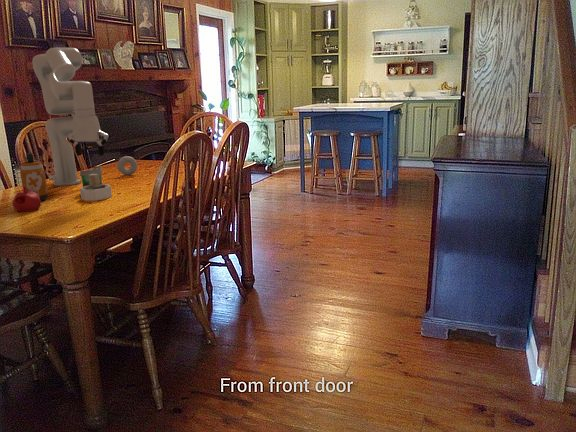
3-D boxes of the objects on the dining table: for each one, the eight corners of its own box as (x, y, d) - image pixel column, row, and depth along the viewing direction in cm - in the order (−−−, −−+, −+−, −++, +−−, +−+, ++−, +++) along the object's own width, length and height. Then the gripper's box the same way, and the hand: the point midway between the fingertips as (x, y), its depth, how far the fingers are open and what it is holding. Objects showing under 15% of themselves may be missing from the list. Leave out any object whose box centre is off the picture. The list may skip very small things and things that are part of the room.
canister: (25, 203, 202) (16, 154, 196) (25, 198, 211) (16, 151, 206) (49, 200, 206) (41, 152, 200) (48, 195, 215) (40, 149, 210)
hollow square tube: (86, 197, 206) (85, 187, 205) (93, 194, 211) (92, 184, 210) (99, 197, 205) (98, 187, 204) (105, 194, 211) (104, 184, 210)
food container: (95, 193, 216) (92, 171, 214) (82, 193, 217) (79, 171, 215) (110, 187, 228) (107, 166, 225) (98, 187, 229) (95, 166, 226)
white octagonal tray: (77, 200, 204) (75, 190, 202) (90, 194, 215) (89, 184, 213) (103, 200, 202) (101, 189, 201) (115, 194, 213) (114, 184, 212)
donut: (138, 173, 261) (136, 155, 259) (138, 174, 258) (136, 155, 256) (118, 175, 258) (116, 156, 256) (118, 176, 255) (116, 157, 252)
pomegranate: (35, 205, 198) (31, 182, 196) (46, 208, 192) (42, 185, 189) (9, 210, 191) (4, 187, 188) (20, 214, 185) (16, 190, 182)
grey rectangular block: (91, 196, 207) (88, 175, 205) (95, 194, 210) (92, 173, 208) (98, 196, 207) (95, 175, 204) (101, 194, 210) (99, 173, 207)
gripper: (59, 114, 197) (65, 156, 201) (101, 113, 195) (106, 156, 200) (69, 112, 204) (75, 153, 209) (109, 112, 202) (114, 153, 207)
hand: (90, 155), depth 204 cm, fingers open, 9 cm apart
